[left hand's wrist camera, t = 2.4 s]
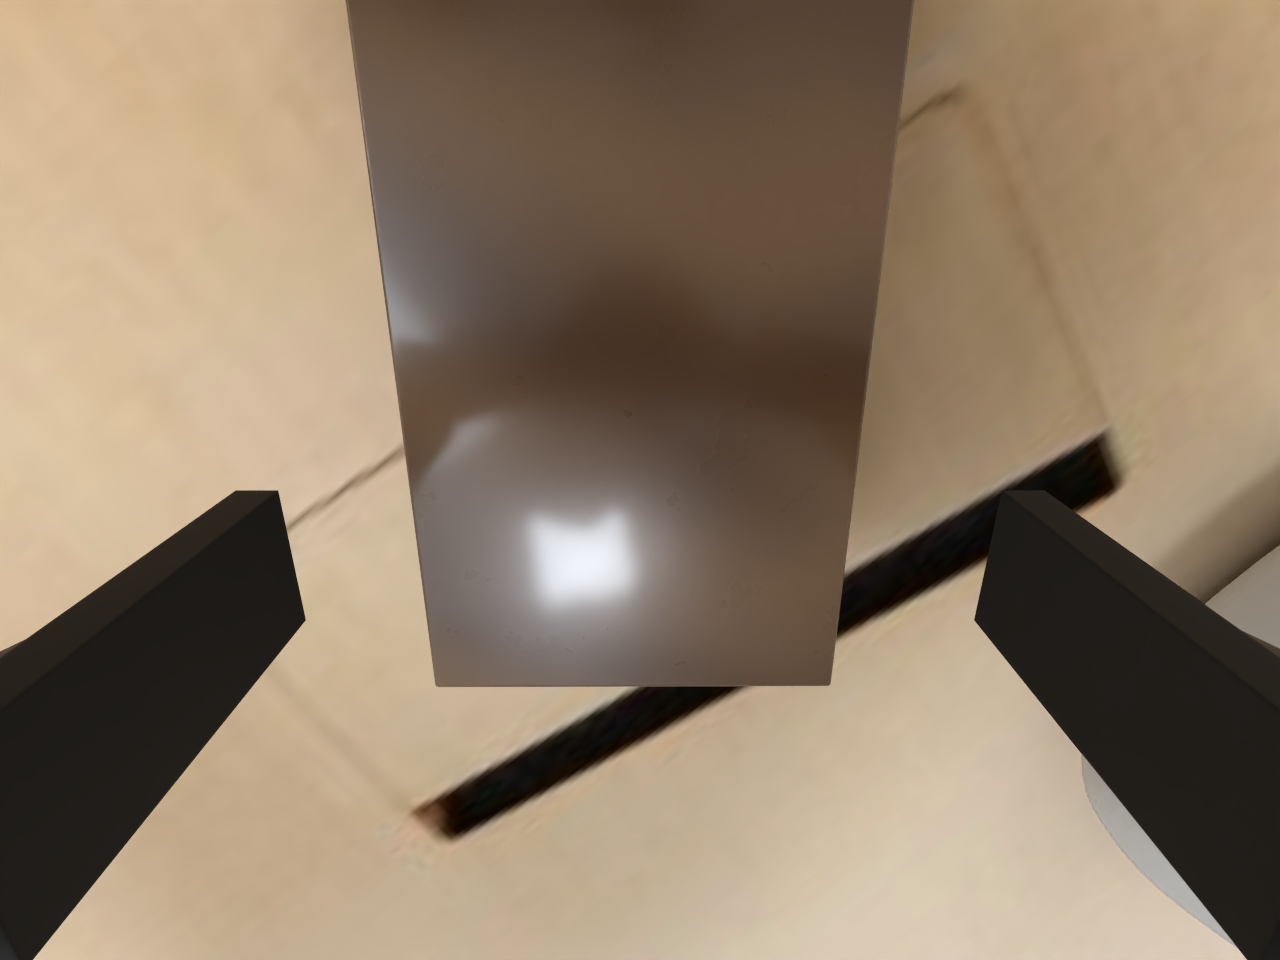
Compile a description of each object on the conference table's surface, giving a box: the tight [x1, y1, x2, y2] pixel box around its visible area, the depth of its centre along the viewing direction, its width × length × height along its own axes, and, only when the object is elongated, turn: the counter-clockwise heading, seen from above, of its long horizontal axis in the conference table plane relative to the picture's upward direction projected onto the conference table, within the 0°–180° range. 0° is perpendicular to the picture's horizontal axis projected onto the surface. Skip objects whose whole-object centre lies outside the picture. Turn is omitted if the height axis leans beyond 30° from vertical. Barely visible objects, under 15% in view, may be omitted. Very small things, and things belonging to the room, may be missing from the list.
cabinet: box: [346, 0, 914, 687], centre depth 18 cm, size 18×10×9 cm, turn 0°
